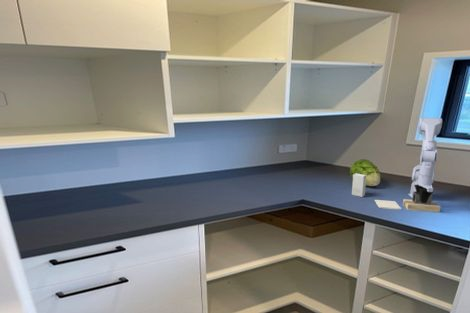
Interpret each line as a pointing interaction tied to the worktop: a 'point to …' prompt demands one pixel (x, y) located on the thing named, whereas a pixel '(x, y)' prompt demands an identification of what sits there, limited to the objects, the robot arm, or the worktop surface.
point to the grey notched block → (417, 198)
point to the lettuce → (366, 171)
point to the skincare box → (359, 185)
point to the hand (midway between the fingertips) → (421, 201)
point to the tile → (387, 204)
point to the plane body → (421, 206)
